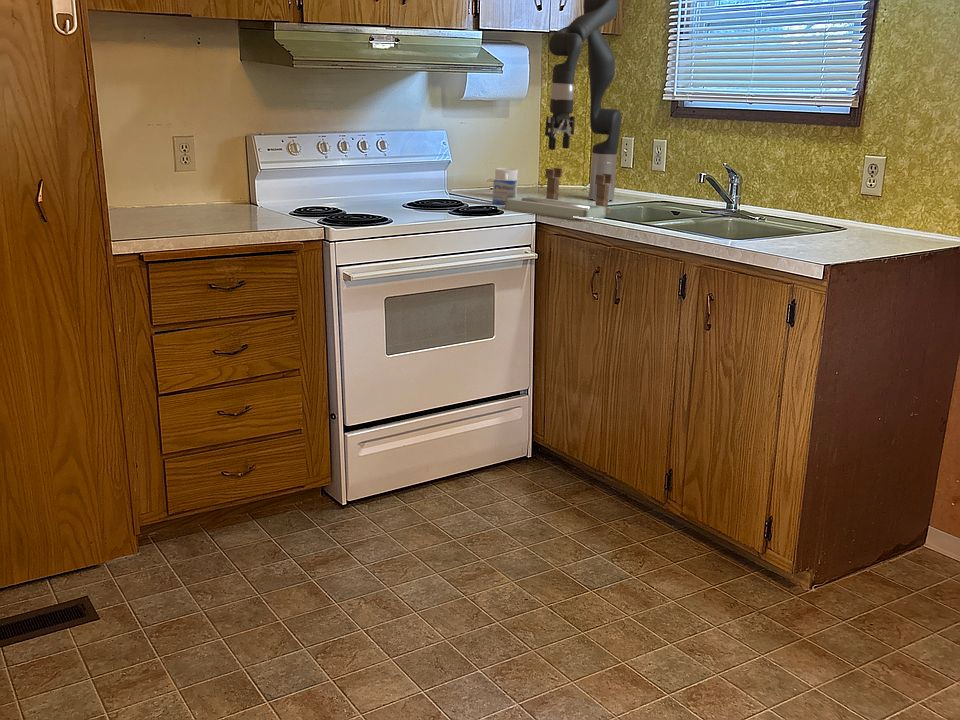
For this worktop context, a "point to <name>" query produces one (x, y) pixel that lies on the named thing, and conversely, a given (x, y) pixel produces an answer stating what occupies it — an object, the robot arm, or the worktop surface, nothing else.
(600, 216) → the tray
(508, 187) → the medicine box
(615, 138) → the robot arm
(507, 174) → the mug
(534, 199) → the rail
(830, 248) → the worktop surface
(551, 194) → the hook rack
